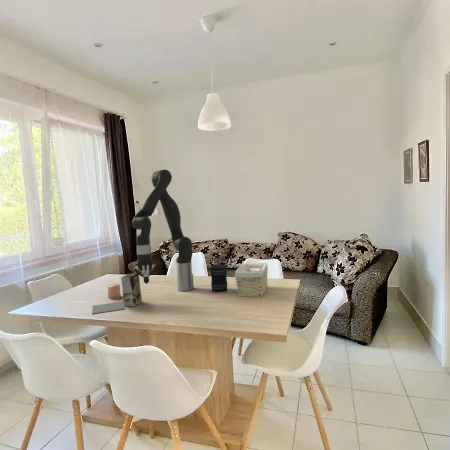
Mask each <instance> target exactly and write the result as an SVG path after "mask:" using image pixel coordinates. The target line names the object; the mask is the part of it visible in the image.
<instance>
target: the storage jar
mask: <svg viewBox="0 0 450 450" xmlns="http://www.w3.org/2000/svg"><path fill="white" fill-rule="evenodd" d="M227 272H228V269H227V265H226V264H213V265H212V264H211V265H210V276H211V278H210V279H211V282H210V284H211V285H210V287H211V292H212V293H224V292H227V291H228V280H227V279H228V278H227V275H228V273H227Z"/></svg>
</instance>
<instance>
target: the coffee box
mask: <svg viewBox="0 0 450 450" xmlns="http://www.w3.org/2000/svg"><path fill="white" fill-rule="evenodd" d="M120 280H121V287H122V288H121V289H122V290H121V291H122V296H123V303H124V306H125V307H135V306H137V305H138V304H140V303H141V302H143V299H142V290H141V283H140V275H139V274H138V273H136V272H135V273H134V272H133V273H127V274H125V275H123V276H122V277H120Z"/></svg>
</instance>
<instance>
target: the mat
mask: <svg viewBox="0 0 450 450" xmlns="http://www.w3.org/2000/svg"><path fill="white" fill-rule="evenodd" d="M123 310H126V306H124V300H122V301H115V302H108V303H102V304H96V305H92V309H91V311H92V312H91V313H92V314H91V315H95V314H96V315H97V314H102V313H109V312H110V313H111V312H115V311H123Z"/></svg>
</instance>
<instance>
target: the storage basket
mask: <svg viewBox="0 0 450 450" xmlns="http://www.w3.org/2000/svg"><path fill="white" fill-rule="evenodd" d="M253 268H254V269H259V270H251V269H253ZM268 268H269V267H268V264H267V263H255V262H254V263H251V262H250V263H249V262H248V263H245V262H244V263H242V264H241V265H240V266H239V267H238V268H237V269H236V270H235V271H234V277H235V282H236V283H235V284H236V291H237V296H238V297H248V298H249V297H252V298H255V297H256V298H262V297H264V294H265V292H266V289H267V288H268Z"/></svg>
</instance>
